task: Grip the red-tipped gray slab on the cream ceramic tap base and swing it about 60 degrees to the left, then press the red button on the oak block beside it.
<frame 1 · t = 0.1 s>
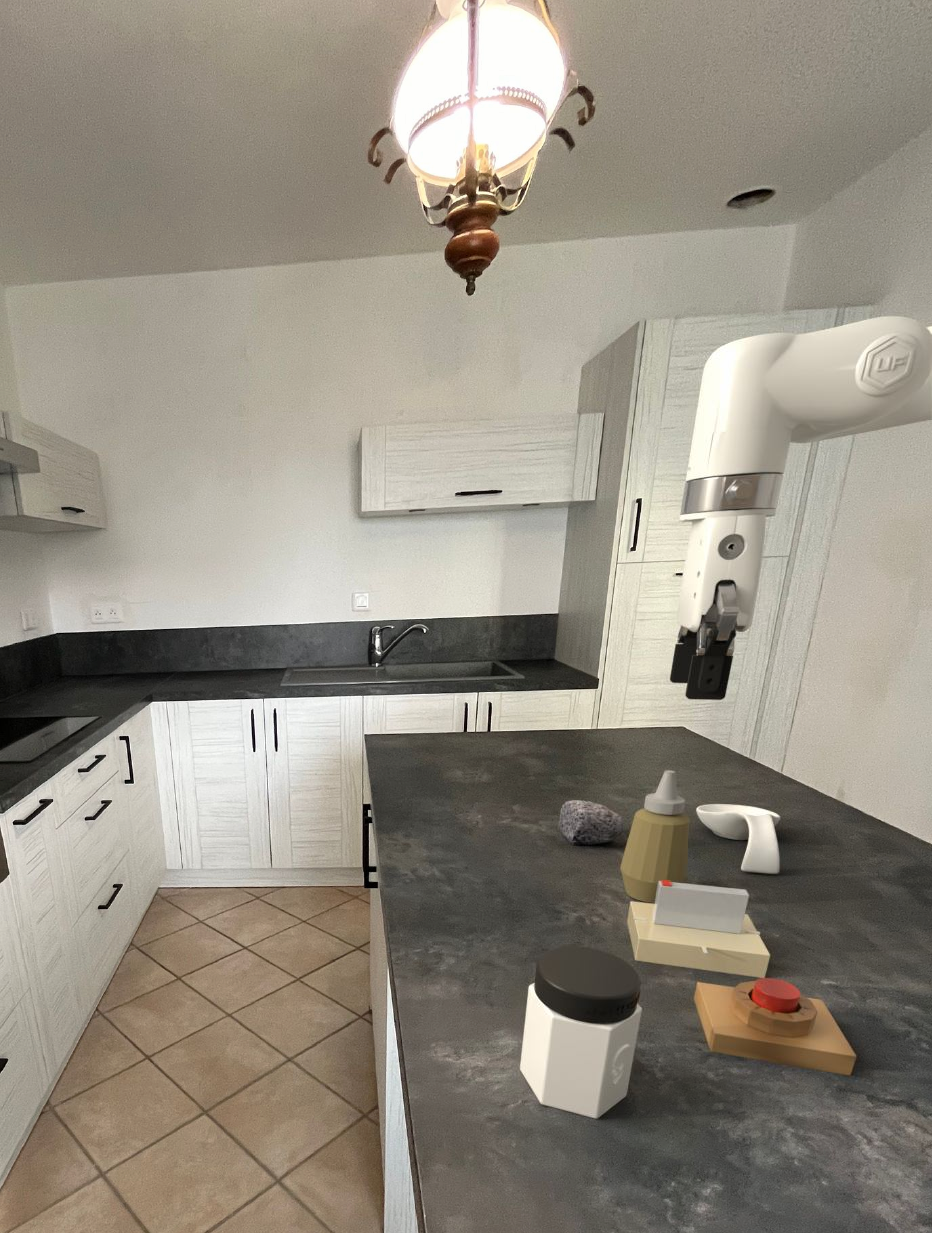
hand: (694, 690, 68), 32 cm above the countertop, tool pointing down, fingers open, 9 cm apart
pumice stone: (587, 842, 115), on the countertop
jar: (571, 1085, 62), on the countertop
button block: (765, 1034, 67), on the countertop
squeeze bottle: (648, 896, 96), on the countertop
tap base: (690, 947, 82), on the countertop
button: (775, 995, 65), point 4 cm above the countertop, slide at 0.1 cm
red-tipped gray slab: (698, 905, 80), point 6 cm above the countertop, hinge at 0.0°
spoon rest: (741, 847, 110), on the countertop
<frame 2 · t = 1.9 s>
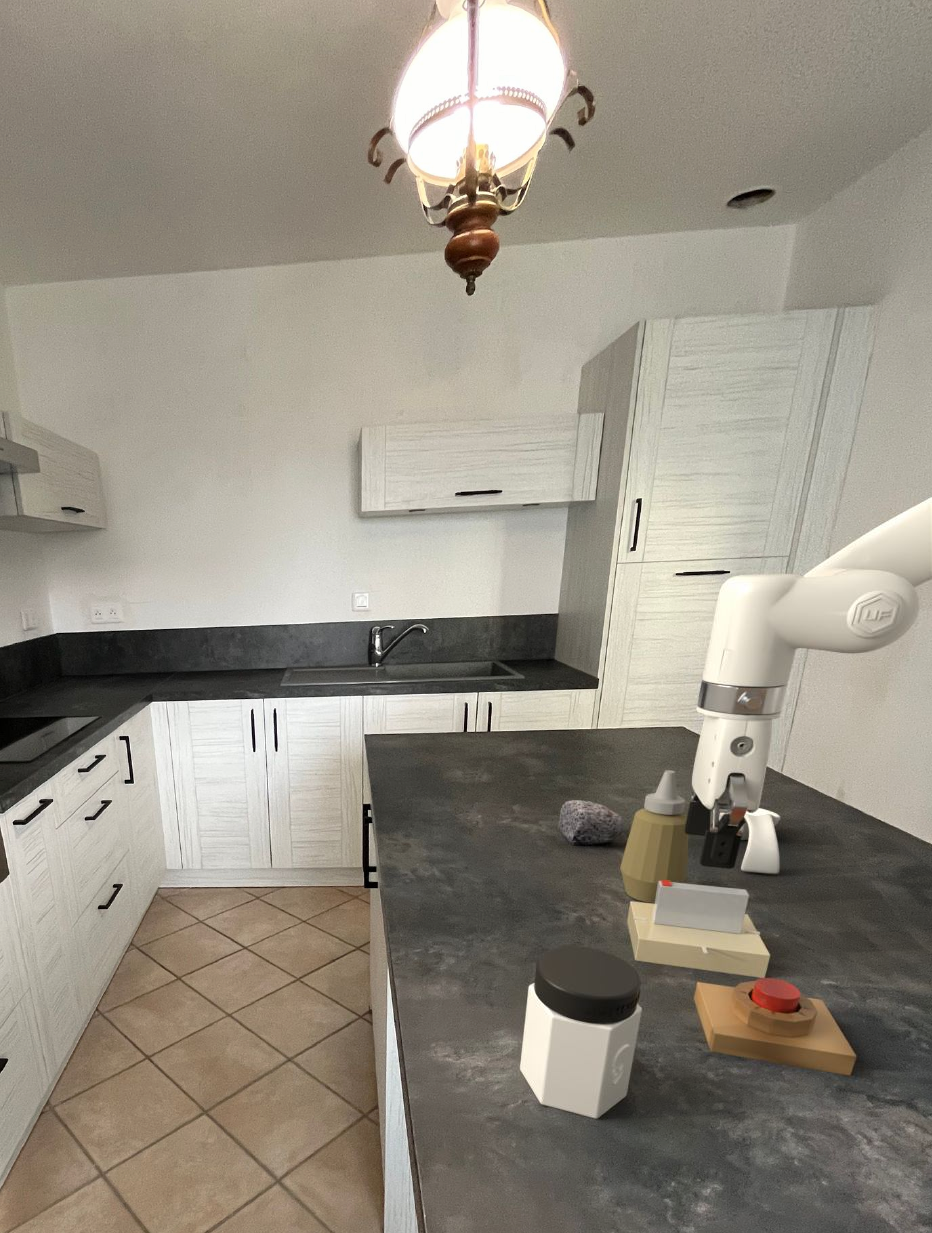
hand: (707, 849, 78), 13 cm above the countertop, tool pointing down, fingers open, 9 cm apart
nothing on the countertop moved.
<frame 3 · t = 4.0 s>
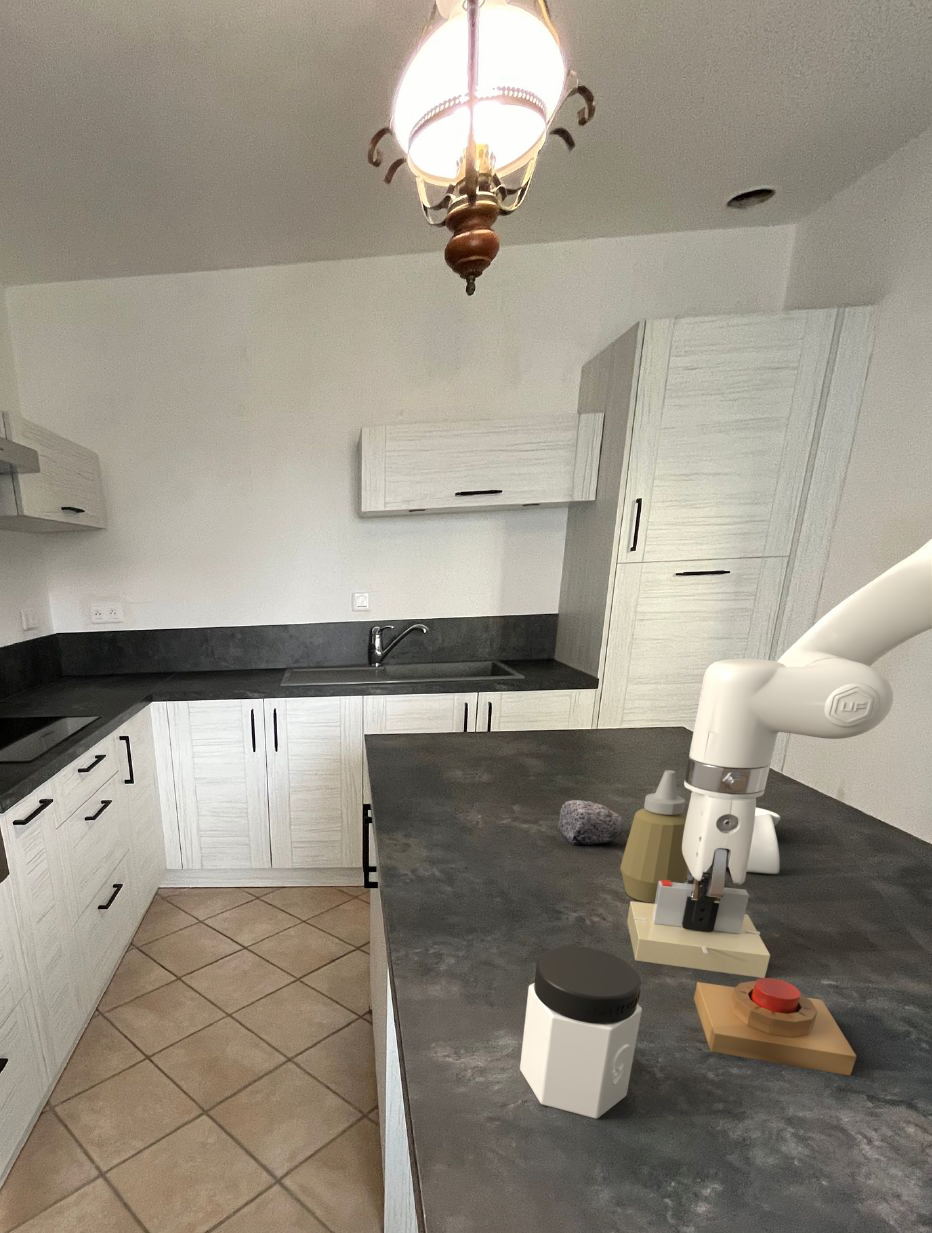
hand: (695, 923, 81), 3 cm above the countertop, tool pointing down, fingers closed on red-tipped gray slab
red-tipped gray slab: (698, 905, 80), point 6 cm above the countertop, hinge at 0.0°, touching gripper
everything else where it was.
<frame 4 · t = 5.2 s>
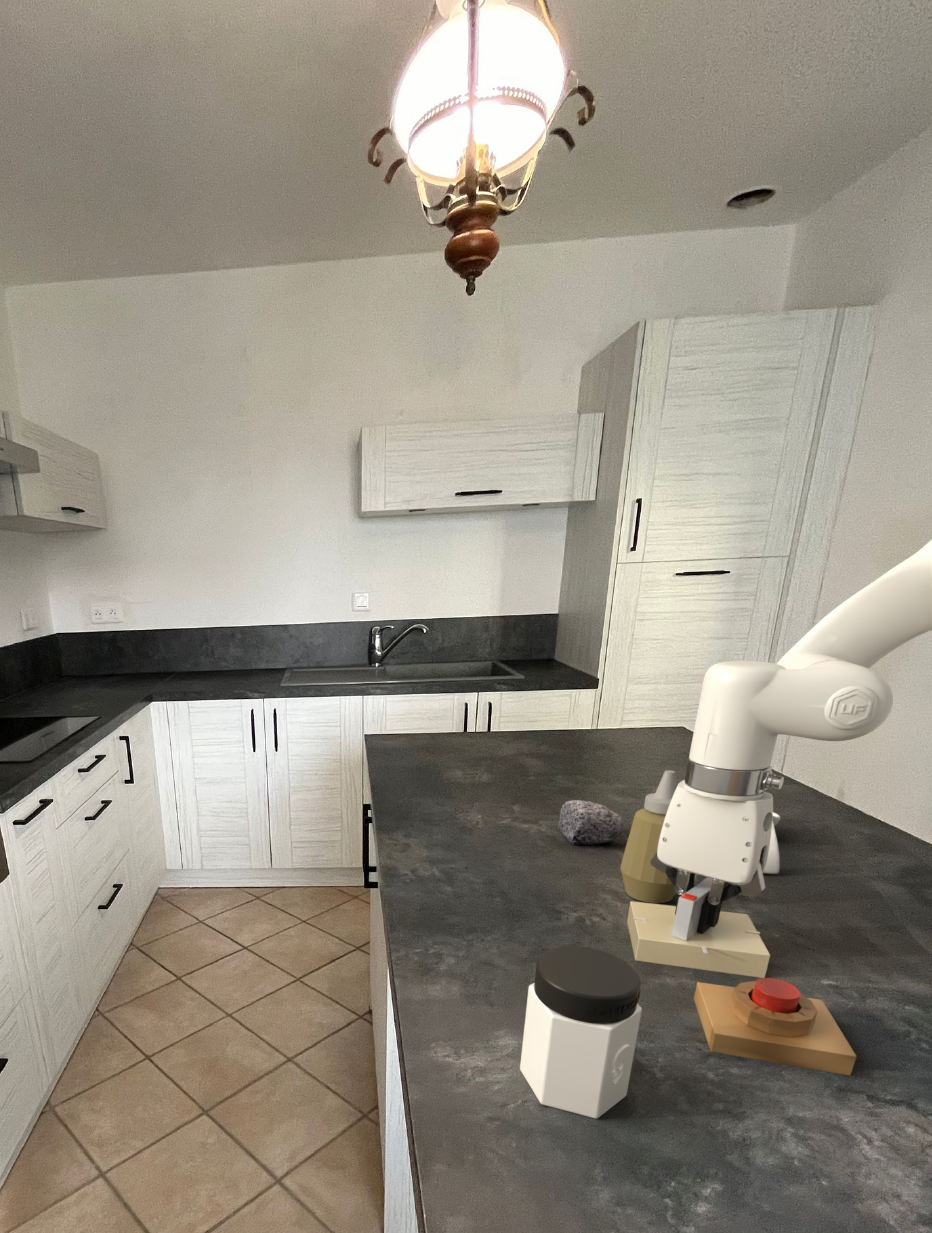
hand: (694, 925, 81), 3 cm above the countertop, tool pointing down, fingers closed, pressing on red-tipped gray slab
red-tipped gray slab: (698, 905, 80), point 6 cm above the countertop, hinge at 60.2°, touching gripper
everything else where it was.
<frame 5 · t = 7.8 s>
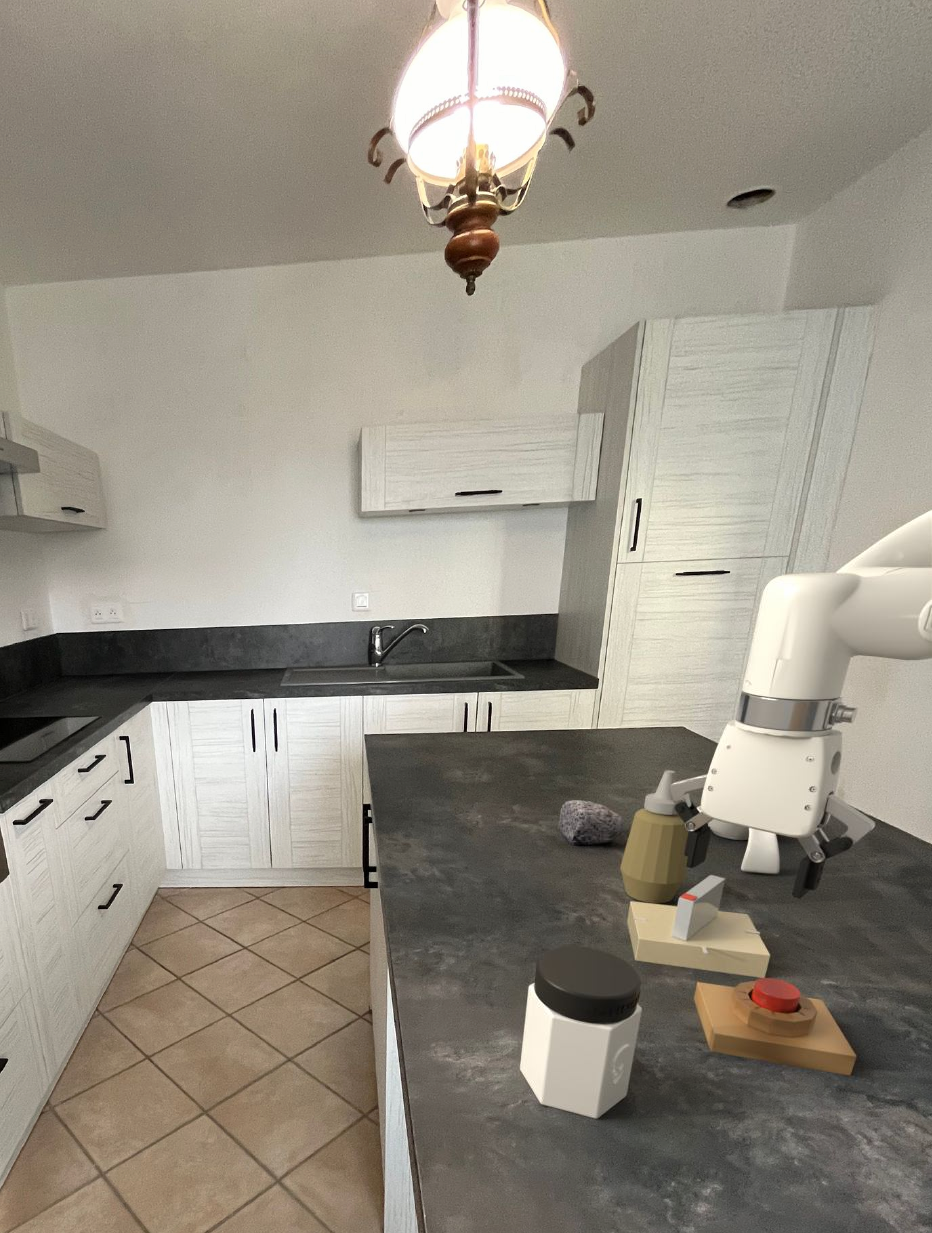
hand: (745, 878, 70), 13 cm above the countertop, tool pointing down, fingers open, 9 cm apart
red-tipped gray slab: (698, 905, 80), point 6 cm above the countertop, hinge at 59.8°
everything else where it was.
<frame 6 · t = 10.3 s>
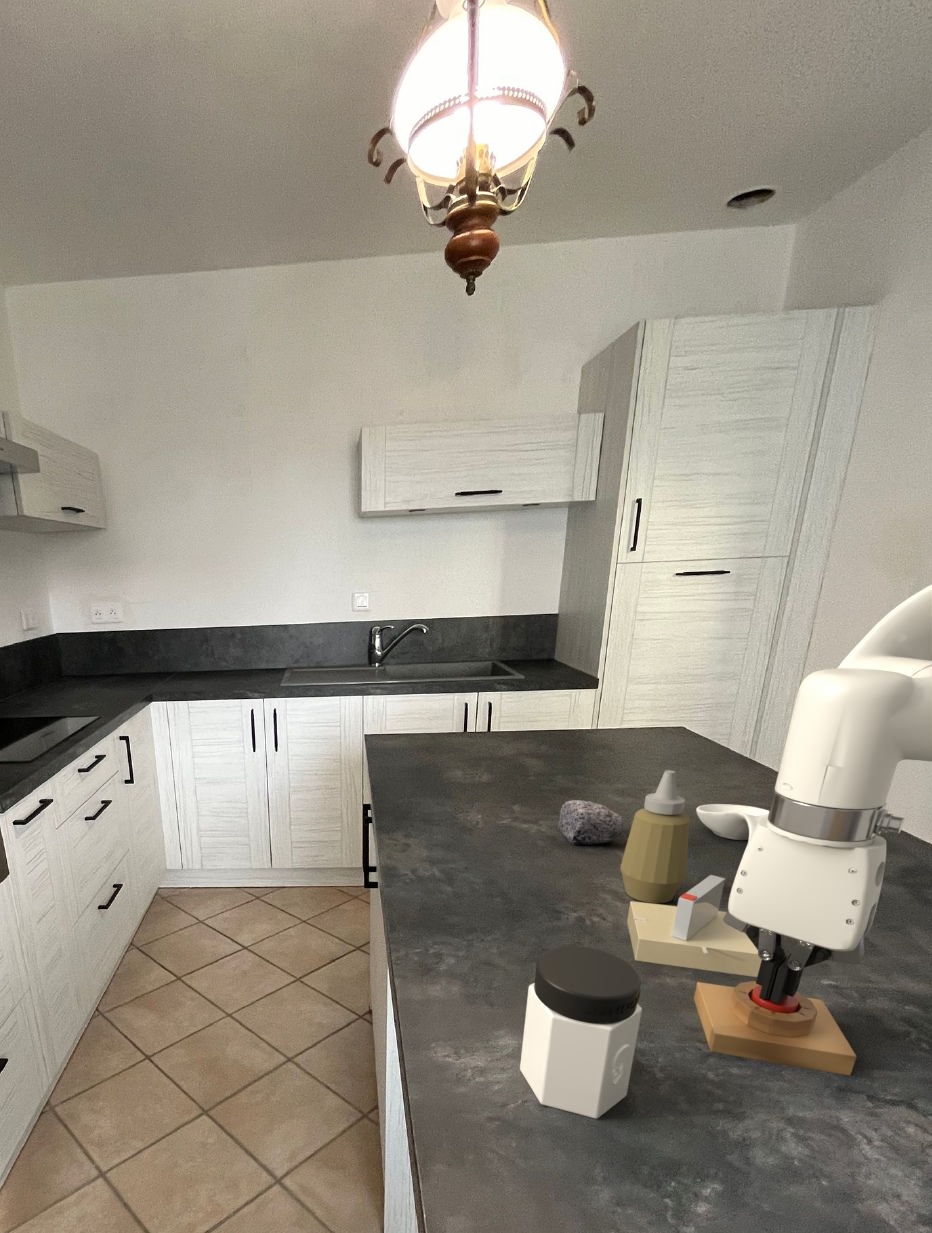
hand: (773, 995, 65), 5 cm above the countertop, tool pointing down, fingers closed
button: (773, 1003, 66), point 4 cm above the countertop, slide at -0.7 cm, touching gripper
everything else where it was.
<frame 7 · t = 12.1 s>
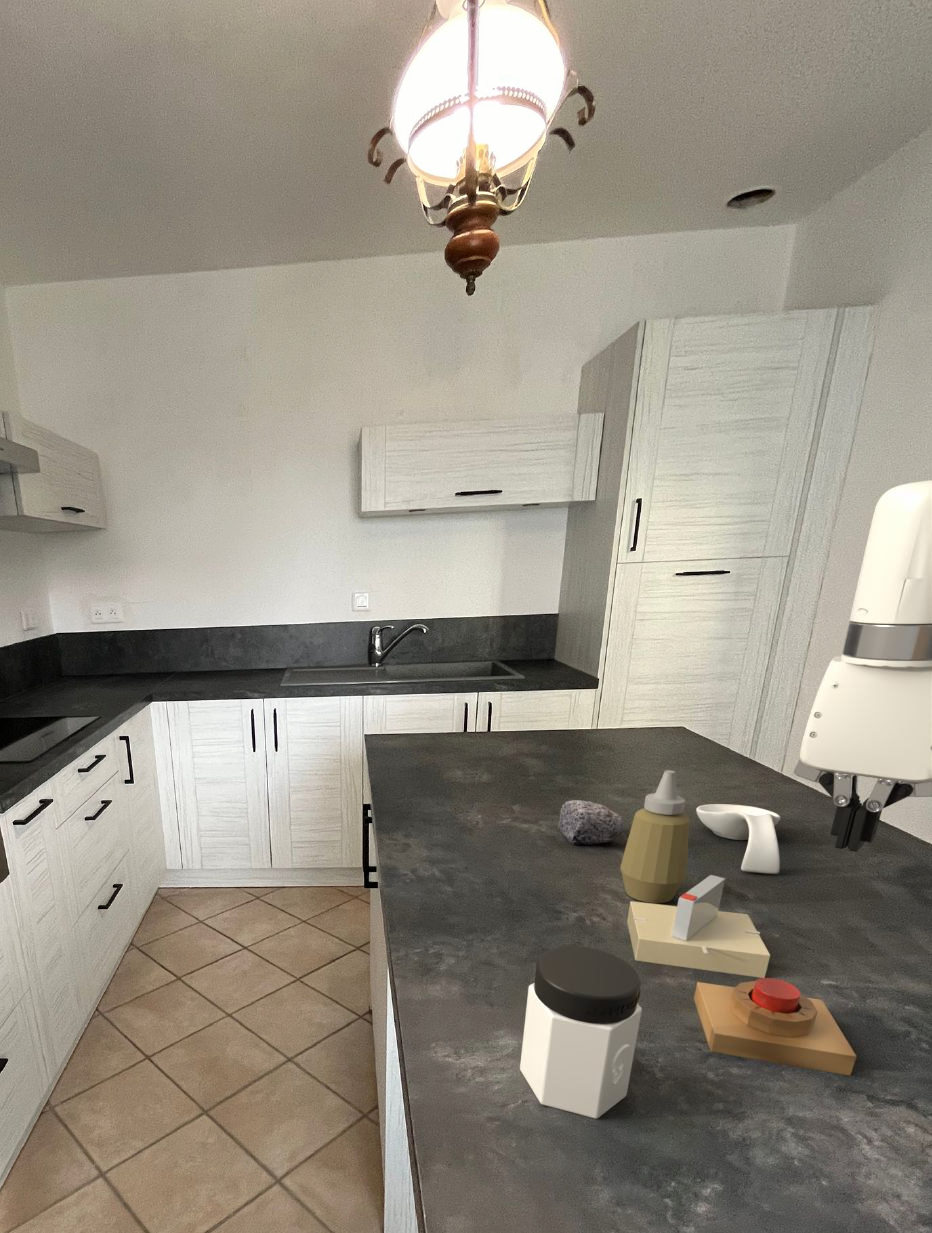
hand: (849, 845, 64), 18 cm above the countertop, tool pointing down, fingers closed
button: (775, 995, 65), point 4 cm above the countertop, slide at 0.1 cm
everything else where it was.
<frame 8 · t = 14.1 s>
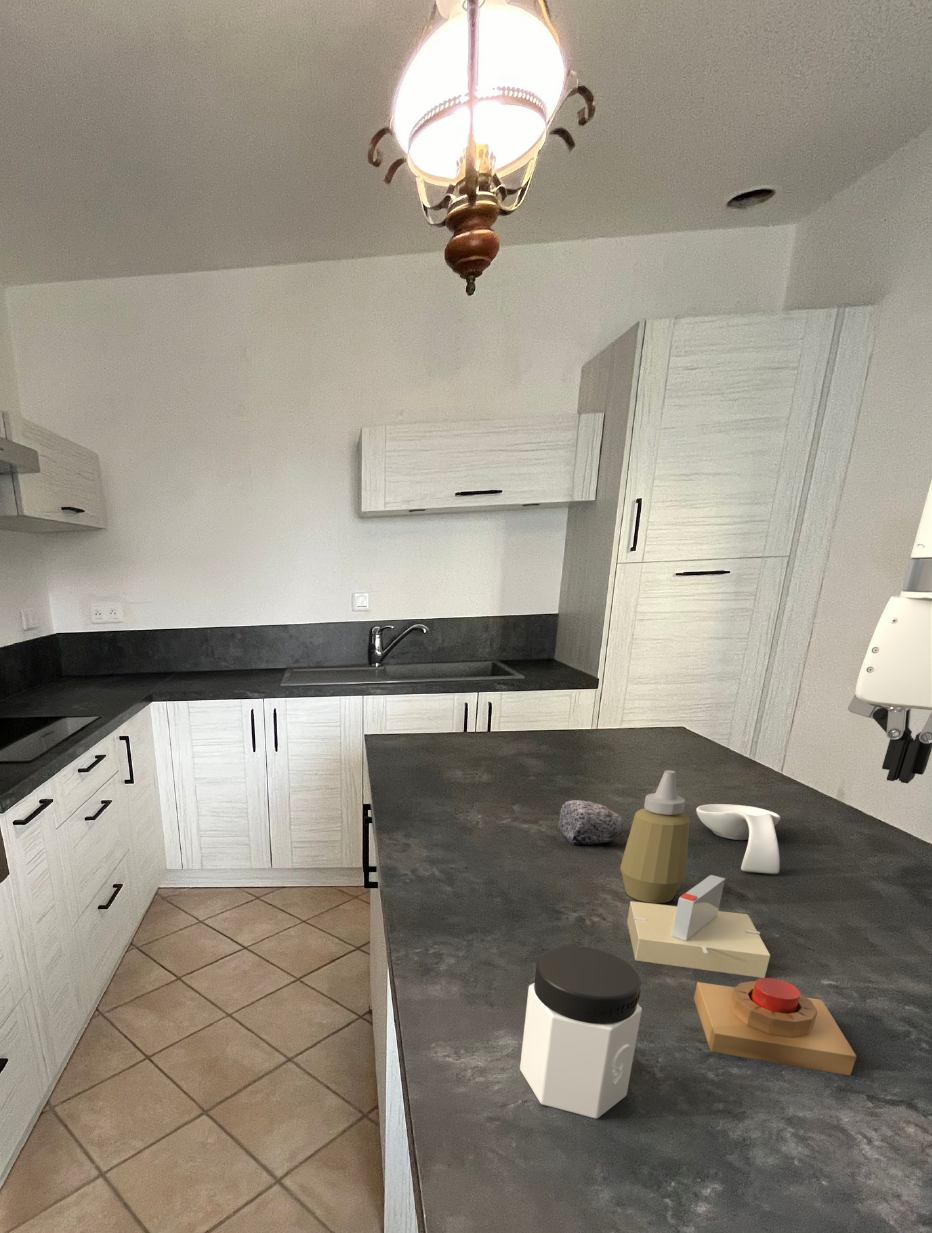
hand: (900, 778, 67), 23 cm above the countertop, tool pointing down, fingers closed
nothing on the countertop moved.
at the end: red-tipped gray slab at +60° (first picture: +0°); button pushed in 1.1 cm at the most during the clip, back to where it started at the end; button slide at 0.1 cm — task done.
